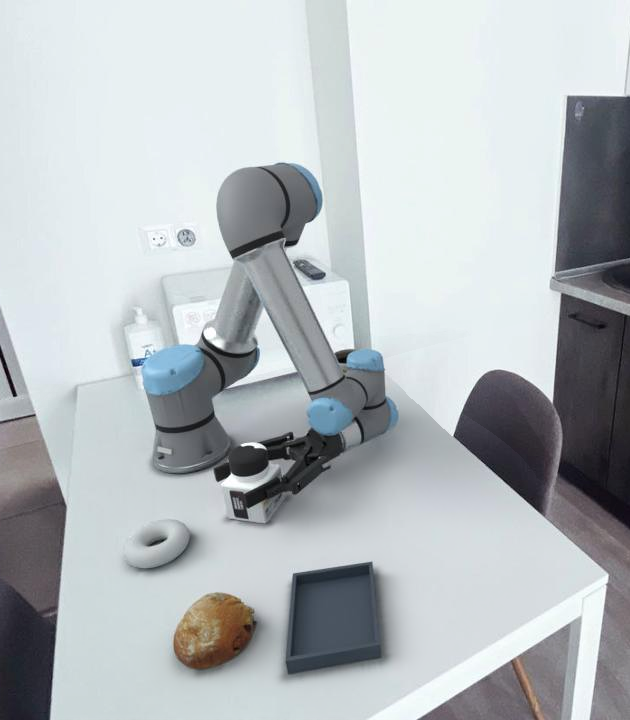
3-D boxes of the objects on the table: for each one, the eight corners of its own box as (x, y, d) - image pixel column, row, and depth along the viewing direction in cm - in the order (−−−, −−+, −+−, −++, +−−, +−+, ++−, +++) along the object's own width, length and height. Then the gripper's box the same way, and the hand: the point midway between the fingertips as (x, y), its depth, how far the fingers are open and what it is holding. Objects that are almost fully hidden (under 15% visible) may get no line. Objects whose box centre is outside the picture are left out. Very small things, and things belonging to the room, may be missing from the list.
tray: (294, 585, 85) (292, 573, 84) (373, 573, 87) (372, 561, 86) (287, 674, 71) (285, 661, 70) (381, 657, 73) (380, 644, 72)
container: (266, 524, 98) (255, 464, 92) (227, 519, 99) (214, 459, 94) (286, 497, 104) (277, 440, 99) (249, 493, 106) (238, 435, 101)
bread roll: (210, 627, 82) (176, 594, 79) (269, 601, 81) (237, 566, 78) (187, 690, 73) (148, 655, 70) (252, 662, 72) (216, 625, 69)
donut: (175, 573, 87) (201, 529, 96) (170, 557, 86) (197, 514, 95) (113, 573, 87) (145, 529, 97) (107, 557, 86) (140, 514, 95)
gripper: (370, 475, 105) (267, 535, 90) (303, 434, 120) (204, 479, 105) (367, 442, 102) (260, 498, 87) (299, 403, 117) (197, 446, 102)
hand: (230, 487), depth 96 cm, fingers closed on container, 10 cm apart
